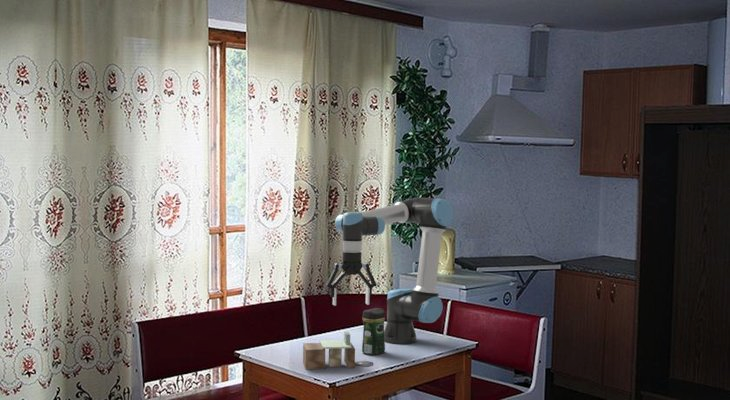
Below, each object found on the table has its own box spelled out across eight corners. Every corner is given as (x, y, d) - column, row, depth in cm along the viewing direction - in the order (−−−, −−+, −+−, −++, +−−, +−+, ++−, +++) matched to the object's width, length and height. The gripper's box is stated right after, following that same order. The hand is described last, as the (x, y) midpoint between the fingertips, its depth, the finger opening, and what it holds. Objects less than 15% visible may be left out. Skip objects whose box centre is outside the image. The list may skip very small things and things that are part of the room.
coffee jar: (373, 349, 336) (374, 306, 335) (387, 352, 330) (388, 308, 329) (358, 353, 328) (359, 308, 328) (372, 356, 323) (373, 311, 322)
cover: (347, 341, 315) (347, 330, 315) (351, 348, 303) (351, 336, 303) (319, 342, 313) (319, 330, 313) (322, 348, 302) (323, 336, 301)
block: (339, 363, 311) (340, 345, 311) (341, 366, 307) (341, 348, 306) (328, 363, 310) (328, 346, 310) (329, 366, 306) (330, 348, 306)
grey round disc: (371, 361, 314) (371, 360, 314) (374, 366, 308) (374, 365, 308) (353, 362, 313) (353, 361, 313) (356, 366, 306) (356, 365, 306)
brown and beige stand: (350, 360, 315) (350, 342, 315) (354, 367, 304) (355, 348, 304) (302, 362, 312) (303, 343, 312) (305, 369, 301) (305, 349, 301)
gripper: (379, 250, 319) (378, 302, 320) (319, 250, 312) (318, 303, 313) (385, 252, 312) (383, 305, 313) (323, 252, 305) (322, 307, 306)
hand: (350, 304), depth 313 cm, fingers open, 13 cm apart
